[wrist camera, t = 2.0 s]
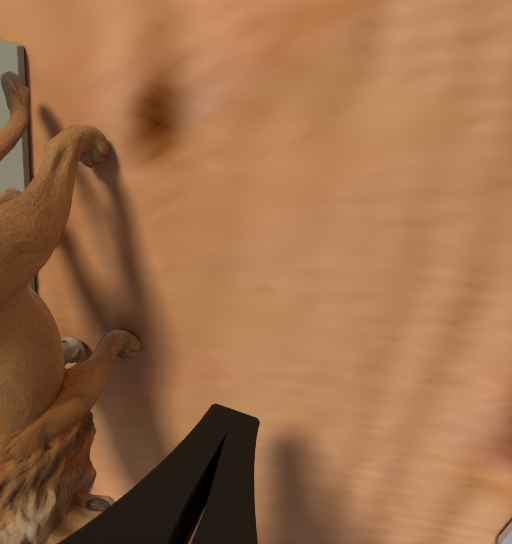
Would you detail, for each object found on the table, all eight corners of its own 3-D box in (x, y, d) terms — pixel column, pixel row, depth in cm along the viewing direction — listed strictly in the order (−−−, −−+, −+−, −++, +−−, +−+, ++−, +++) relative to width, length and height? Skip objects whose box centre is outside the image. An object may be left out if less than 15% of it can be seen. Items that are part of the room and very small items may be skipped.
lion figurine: (190, 419, 19) (84, 670, 12) (85, 416, 21) (-75, 641, 13) (90, 58, 13) (-288, 69, 5) (-52, 83, 14) (-531, 122, 7)
